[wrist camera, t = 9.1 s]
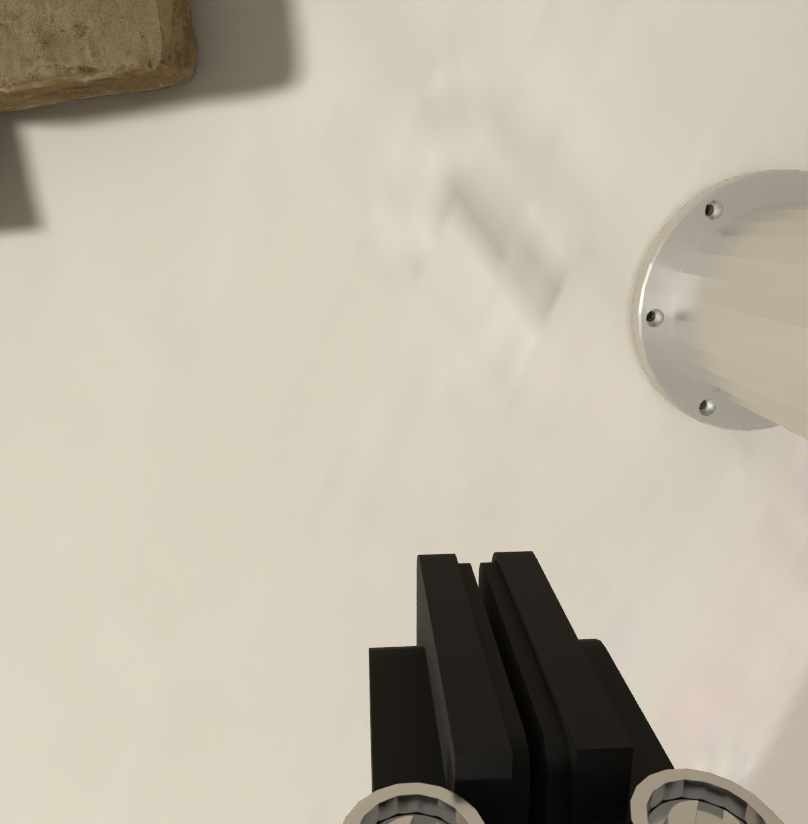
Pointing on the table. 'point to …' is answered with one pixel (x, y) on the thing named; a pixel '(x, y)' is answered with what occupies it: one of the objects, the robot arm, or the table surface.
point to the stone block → (91, 49)
